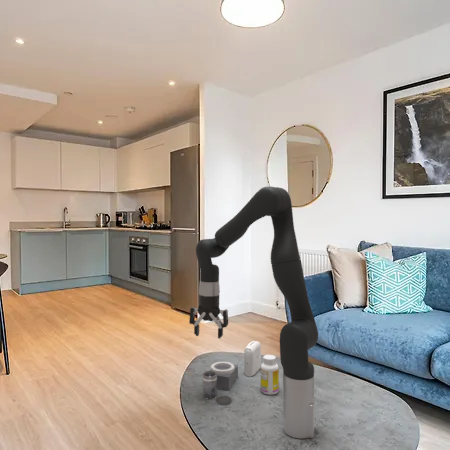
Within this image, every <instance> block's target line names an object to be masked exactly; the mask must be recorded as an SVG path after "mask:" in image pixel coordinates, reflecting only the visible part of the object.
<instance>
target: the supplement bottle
mask: <svg viewBox="0 0 450 450" xmlns="http://www.w3.org/2000/svg"><path fill="white" fill-rule="evenodd" d="M262 361H263V362H261V367H260V391H261V392H262V394H264V395H268V396H269V395H277V394H278V393H279V390H280V389H279V388H280V387H279V386H280V385H279V383H280V382H279V381H280V380H279V379H280V378H279V373H280V372H279V365H278V363H277V362H276V361H277V358H276V356H275V355H273V354H265V355H263V357H262Z"/></svg>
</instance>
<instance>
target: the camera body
mask: <svg viewBox="0 0 450 450" xmlns="http://www.w3.org/2000/svg"><path fill="white" fill-rule="evenodd" d="M209 371H213V372H216V373H217V388H218V389H217V390H222V389H223V390H224V391H230V390H231V388H232V387H233V385H234V384H235V382H236V381H237V379H238V378H239V364H235V363H232V362H229V361H217V362H214V363H212V364H211V365H210V369H209ZM223 390H222V391H223Z"/></svg>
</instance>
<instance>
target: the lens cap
mask: <svg viewBox="0 0 450 450" xmlns="http://www.w3.org/2000/svg"><path fill="white" fill-rule="evenodd" d="M232 401H233V399H232V397H230V396H227V395H221V396H218V397H216V398H215V403H216V402H217V403H218V404H217V403H216V404H217V405H219V404H220V406H228V405H230V404H232V403H233V402H232Z"/></svg>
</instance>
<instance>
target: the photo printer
mask: <svg viewBox="0 0 450 450" xmlns="http://www.w3.org/2000/svg"><path fill="white" fill-rule="evenodd" d="M261 347H262V346H261V343H260V342H259V341H257V340H253V341H251V342H249V343H248V344H247V345H246V347H245V348H244V354H243V355H244V356H243V358H244V360H243V361H244V362H243V365H244V367H243V368H244V371H243V373H244V375H245V377H246V376H247V377H253V376H255V375H256V373H258V372H259V371H260V370H261V364H262V361H261V359H262V357H261V356H262V355H261V354H262V353H261Z"/></svg>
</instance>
